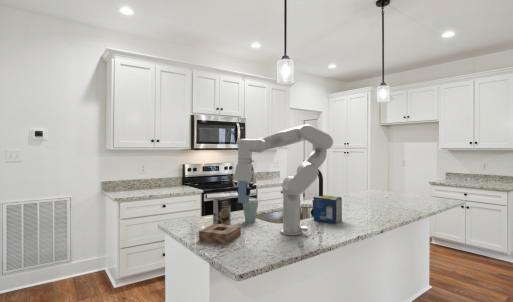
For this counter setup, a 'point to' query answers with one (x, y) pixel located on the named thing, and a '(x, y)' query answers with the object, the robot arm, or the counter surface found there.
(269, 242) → the counter surface
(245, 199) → the peg
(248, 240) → the counter surface
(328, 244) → the counter surface
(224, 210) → the coffee box
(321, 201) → the protein box
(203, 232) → the socket block
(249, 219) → the disposable coffee cup
